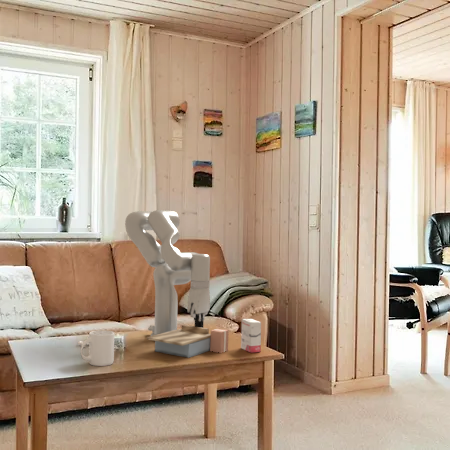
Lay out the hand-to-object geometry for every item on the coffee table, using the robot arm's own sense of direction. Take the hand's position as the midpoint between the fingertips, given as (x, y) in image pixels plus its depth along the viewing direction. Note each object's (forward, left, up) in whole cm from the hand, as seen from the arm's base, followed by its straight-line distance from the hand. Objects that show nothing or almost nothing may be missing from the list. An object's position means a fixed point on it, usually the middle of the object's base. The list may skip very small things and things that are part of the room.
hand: (198, 330), depth 234 cm
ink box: (+20, +7, -7) cm, 22 cm away
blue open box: (0, -8, -6) cm, 10 cm away
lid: (0, -12, -1) cm, 12 cm away
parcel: (+11, -2, -6) cm, 13 cm away
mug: (-12, -45, -7) cm, 47 cm away
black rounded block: (-36, -24, -7) cm, 44 cm away
